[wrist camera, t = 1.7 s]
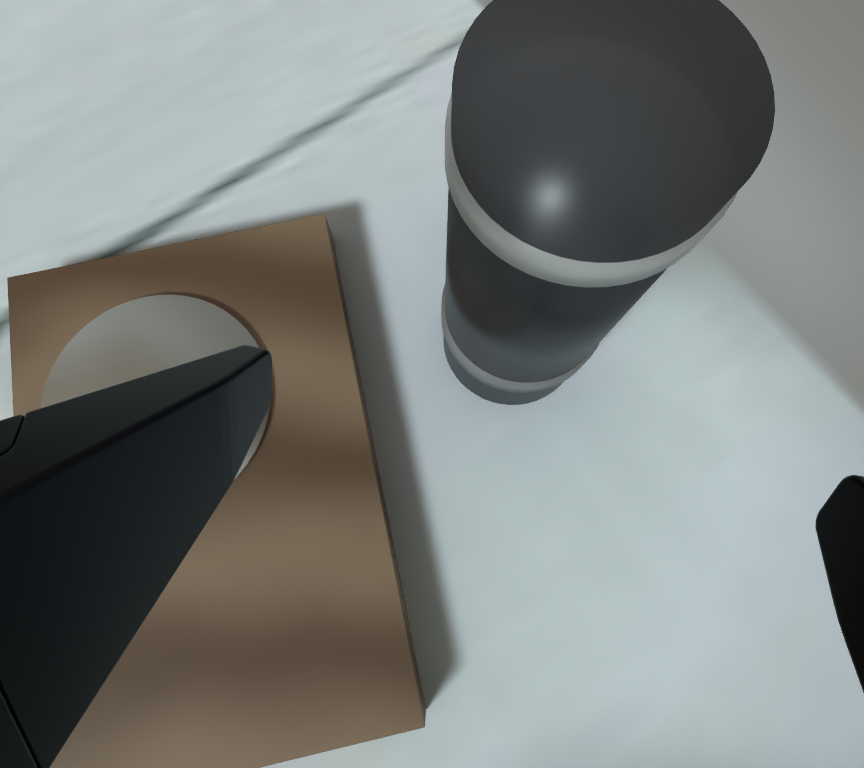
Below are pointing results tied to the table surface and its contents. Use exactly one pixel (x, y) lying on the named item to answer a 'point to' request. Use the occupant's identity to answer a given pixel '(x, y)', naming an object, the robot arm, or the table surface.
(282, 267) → the mount board
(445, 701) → the table surface
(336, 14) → the table surface
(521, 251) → the dark grey cylinder
